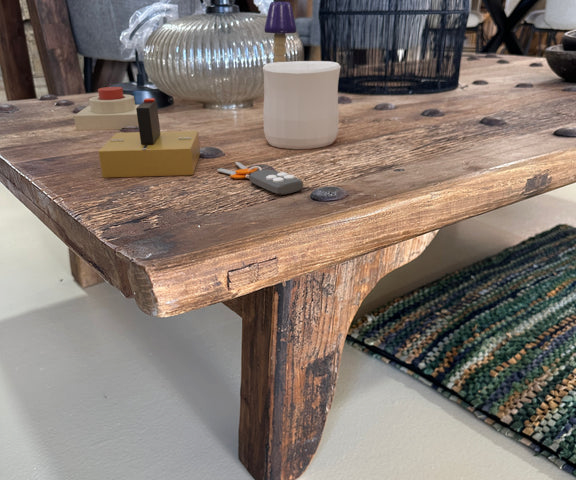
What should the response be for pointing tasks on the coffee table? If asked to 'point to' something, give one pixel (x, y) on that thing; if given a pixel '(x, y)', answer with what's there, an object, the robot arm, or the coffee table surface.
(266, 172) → the key chain
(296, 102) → the cup
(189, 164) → the plate
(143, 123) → the lock turn
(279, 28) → the toy lamp
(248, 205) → the coffee table surface
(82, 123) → the box
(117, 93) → the release button
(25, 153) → the coffee table surface
